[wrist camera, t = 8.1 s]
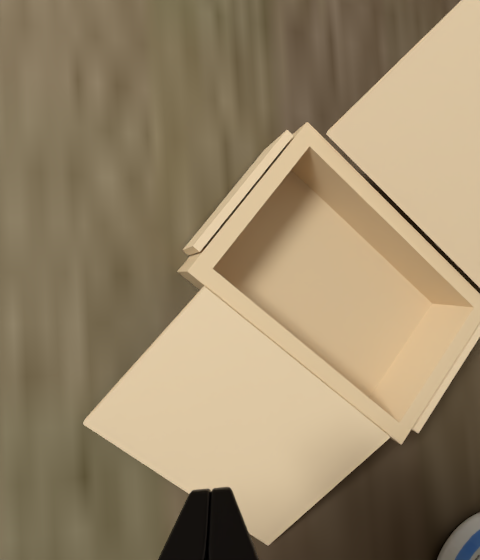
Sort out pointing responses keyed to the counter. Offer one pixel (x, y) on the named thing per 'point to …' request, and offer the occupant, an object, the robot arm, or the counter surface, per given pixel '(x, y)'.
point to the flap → (428, 135)
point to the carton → (294, 340)
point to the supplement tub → (463, 541)
